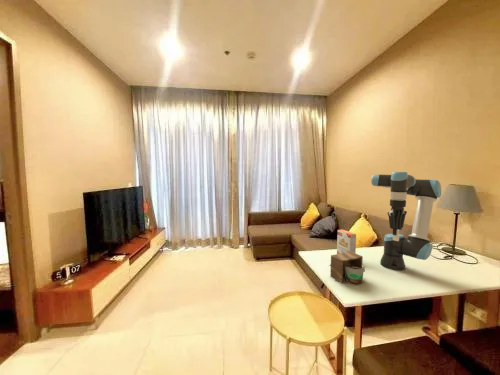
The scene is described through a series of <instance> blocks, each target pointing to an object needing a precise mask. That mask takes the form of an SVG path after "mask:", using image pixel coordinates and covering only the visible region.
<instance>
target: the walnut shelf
mask: <svg viewBox="0 0 500 375" xmlns="http://www.w3.org/2000/svg"><path fill="white" fill-rule="evenodd" d="M363 258H364V257H363V256H362V254H361V255H360V254H358V253H354V252H346V253H341V254H337V253H336V254H331V255H330V275H329V277H330V278H332V279H333V280H335V281H337V282H338V283H340V284H342V283H343V276H345V269H344V268H343V267H344V265H345V266H355V267H362V268H363V262H364V261H363Z"/></svg>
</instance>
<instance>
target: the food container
mask: <svg viewBox="0 0 500 375" xmlns="http://www.w3.org/2000/svg"><path fill="white" fill-rule="evenodd" d="M343 268H344V269H345V274H344V277H345V279H344V280H345V282H346V283H348V284H351V285H354V286H359V285H362V283H363V278H364V273H365V271H366V270H365V269H366V268H365V267H363V266H362V267H355V266H345V265H344V267H343Z"/></svg>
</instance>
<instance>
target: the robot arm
mask: <svg viewBox="0 0 500 375" xmlns="http://www.w3.org/2000/svg"><path fill="white" fill-rule="evenodd" d="M370 183H371V185H372V186H374V187H383V188H386V189H389V190H390V194H389V196H390V197H389V198H390V200H389V206H390V207H391V208H390V211H388V212H387V213H386V214H387V215H388V221H389V222H388V223H389V228H390V229H391V230H392V233H387V234H385V235H384V239H383V254H382V256H381V259H380V260H379V261H380V265H381V266H382V267H384V268H386V269H389V270H393V271H404V270H405V269H406V262H405V258H404V256H407V257H410V258H414V259H417V260H423V261H426V260H427V259H428V258H430V256H431V255H432V254H431V253H432V251H433V244H432V243H431V242H430V241H431V240H430V238H428V235H429V230H430V225H431V224H430V222H431V218H432V211H433V206H434V202H436V201H437V200H438V198H439V199H440V198H442V197H441V196H442V185H441V183H440V181H439V180H436V179H417V178H416V177H415V176H413V175H411V174H408V172H407V171H393V172H391V174H372V176H371V181H370ZM407 196H414V197H415V200H416V206H415V212H414V219H413V222H412V223H413V224H412V230H411V233H410V234H408V236H407V237H405V235H404V234H401V233H400V232H401V231H402V230H403V228H404V223H405V219H406V215H407V213H408V212H407V210H405V208H406V207H407ZM400 230H401V231H400Z"/></svg>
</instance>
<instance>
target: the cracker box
mask: <svg viewBox="0 0 500 375" xmlns="http://www.w3.org/2000/svg"><path fill="white" fill-rule="evenodd" d="M336 241H337V242H336V254H341V253H346V252H354V253H356V252H357V250H356V249H357V248H356V247H357V234H356V233H354V232H351V231H349V230H346V229H337V238H336ZM356 254H357V253H356Z"/></svg>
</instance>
